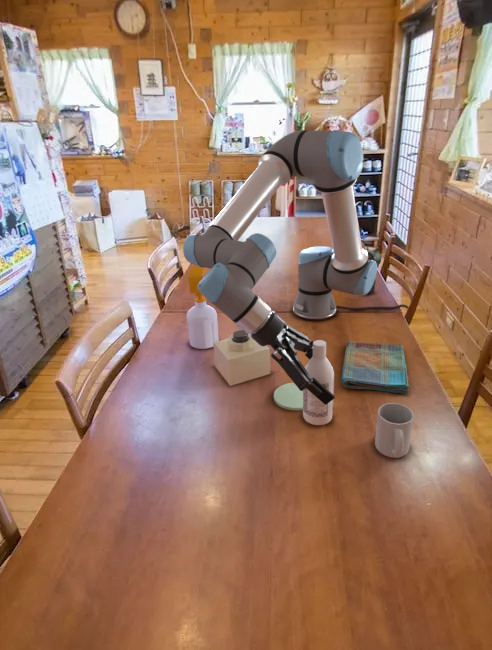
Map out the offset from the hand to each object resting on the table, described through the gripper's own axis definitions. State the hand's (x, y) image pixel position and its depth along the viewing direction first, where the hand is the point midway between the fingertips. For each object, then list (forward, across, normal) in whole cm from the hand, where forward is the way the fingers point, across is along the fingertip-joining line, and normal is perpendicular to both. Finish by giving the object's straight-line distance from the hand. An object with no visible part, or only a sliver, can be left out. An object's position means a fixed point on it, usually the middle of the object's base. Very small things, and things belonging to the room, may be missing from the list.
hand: (329, 383), depth 103 cm
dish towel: (+16, -23, +3) cm, 28 cm away
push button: (-16, -20, -16) cm, 30 cm away
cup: (+16, +11, +3) cm, 20 cm away
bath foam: (+5, 0, -9) cm, 10 cm away
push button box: (-10, -20, -23) cm, 32 cm away
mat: (+1, -8, -12) cm, 15 cm away
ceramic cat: (+16, -82, +2) cm, 84 cm away
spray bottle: (-20, -35, -33) cm, 52 cm away
